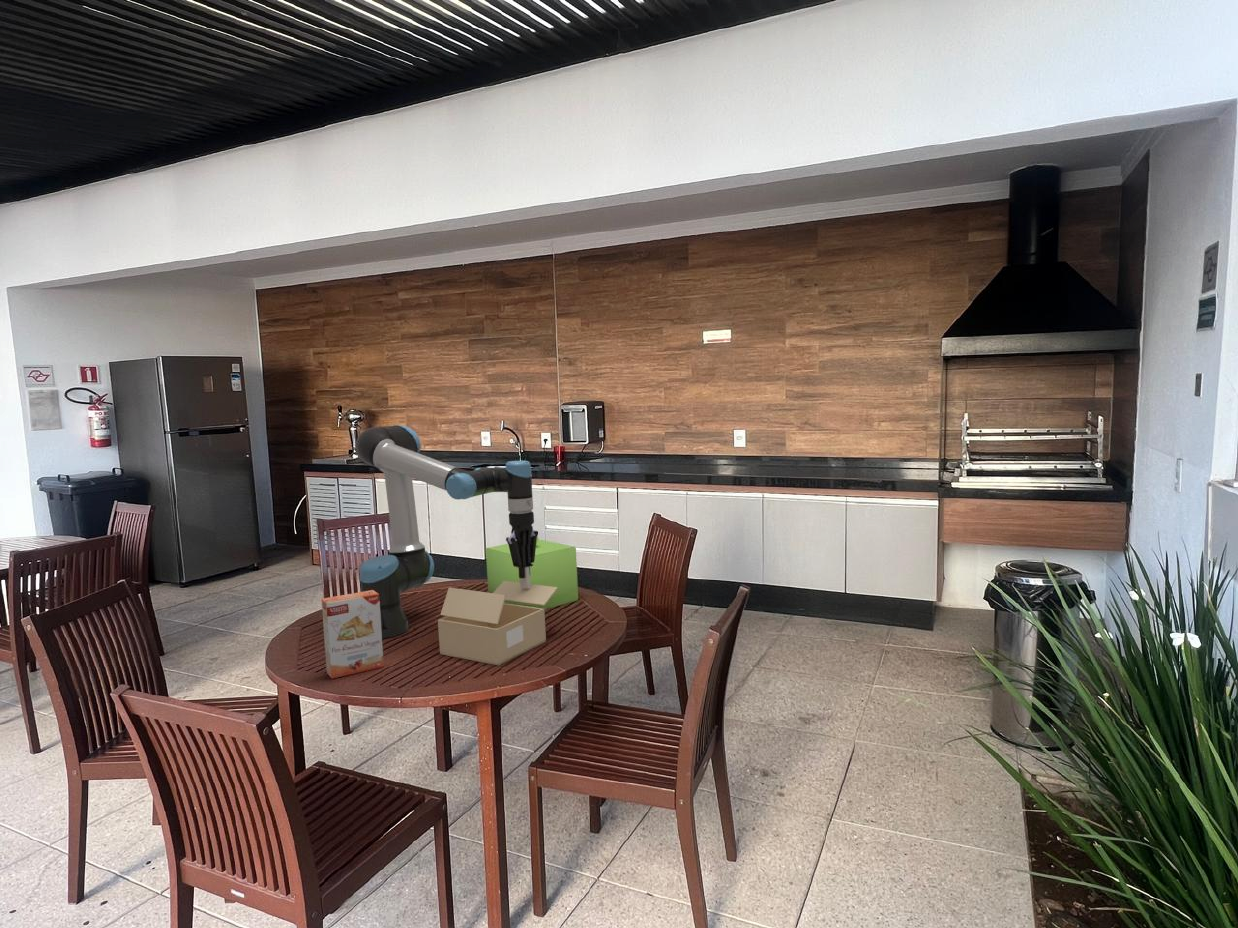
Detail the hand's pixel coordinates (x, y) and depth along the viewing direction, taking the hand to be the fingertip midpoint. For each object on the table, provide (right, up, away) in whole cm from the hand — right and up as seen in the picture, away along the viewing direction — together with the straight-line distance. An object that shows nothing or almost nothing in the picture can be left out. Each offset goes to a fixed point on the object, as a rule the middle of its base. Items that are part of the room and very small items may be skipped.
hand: (525, 587), depth 226 cm
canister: (-2, -11, +37) cm, 39 cm away
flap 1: (-13, -6, -22) cm, 26 cm away
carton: (-8, -15, -12) cm, 21 cm away
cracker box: (-43, -18, -25) cm, 53 cm away
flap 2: (-3, -4, -4) cm, 7 cm away
